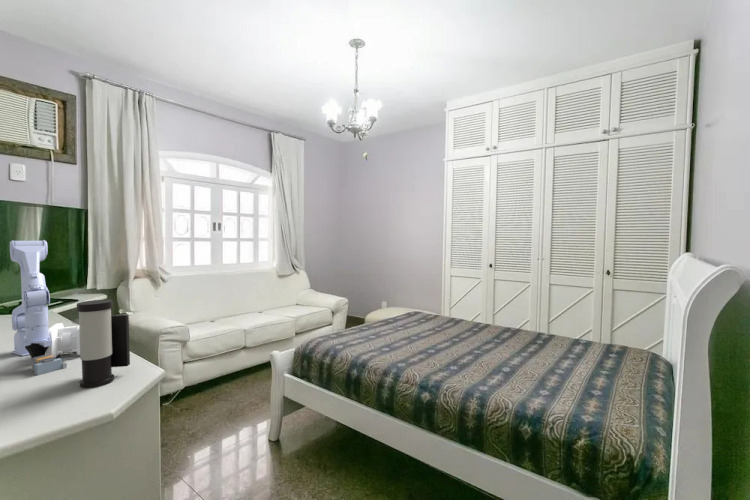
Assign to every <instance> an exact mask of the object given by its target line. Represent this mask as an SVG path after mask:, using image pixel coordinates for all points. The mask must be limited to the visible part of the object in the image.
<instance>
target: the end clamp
mask: <svg viewBox="0 0 750 500" xmlns="http://www.w3.org/2000/svg"><path fill="white" fill-rule="evenodd" d="M62 362H63V359H62V358H59V357H58V358H56V359H48V360H44V361H43V362H42V363H38V364H34V370H33V371H34V375H36V376H40V375H43V374H47V373H51V372H55V371H57V370H61V369H63V368H62Z"/></svg>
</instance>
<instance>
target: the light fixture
mask: <svg viewBox="0 0 750 500" xmlns="http://www.w3.org/2000/svg"><path fill="white" fill-rule="evenodd" d="M113 308H114V307H113V300H112V299H94V300H85V301H81V302H77V303H76V312H78V325H79V333H80V355H79V356H80V357H79V358H80V360H81V374H82V375H81V380H80V381H79V387H80V388H82V389H93V388H98V387H102V386H106V385H108V384H110V383H112V382H113V381H115V374H113V373H112V368H119V367H120V368H123V367H129V365H131V359H130V358H131V355H130V353H131V352H130V351H131V350H130V349H131V348H130V324H129V323H130V321H129V320H130V319H129V316H130V315H129V314H112V309H113Z"/></svg>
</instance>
